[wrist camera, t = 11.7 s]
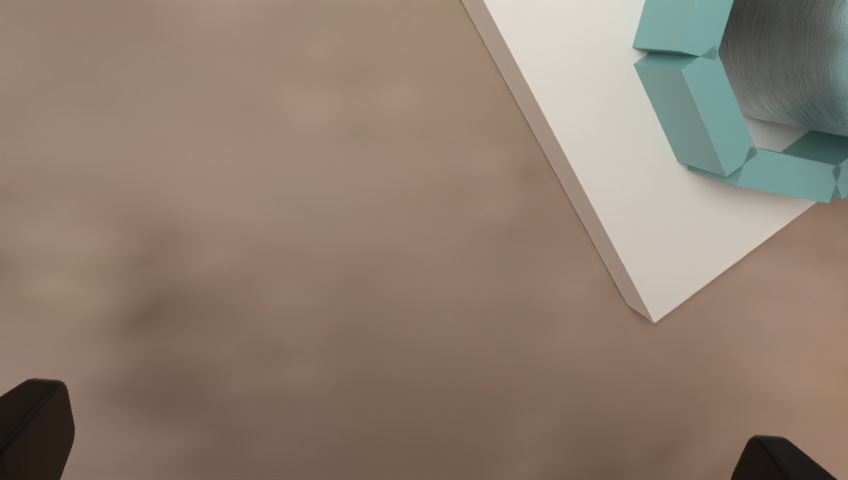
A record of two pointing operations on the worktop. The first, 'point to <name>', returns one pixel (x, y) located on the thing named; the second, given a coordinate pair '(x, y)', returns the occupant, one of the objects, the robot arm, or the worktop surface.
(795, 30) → the cylinder
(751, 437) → the robot arm
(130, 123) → the worktop surface
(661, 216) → the pallet
